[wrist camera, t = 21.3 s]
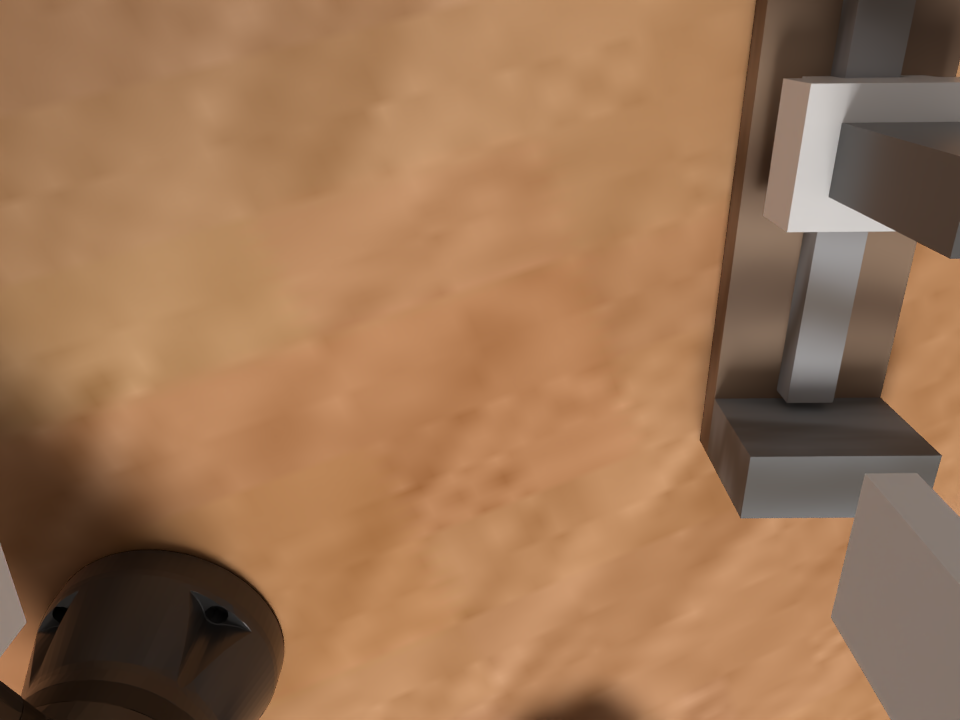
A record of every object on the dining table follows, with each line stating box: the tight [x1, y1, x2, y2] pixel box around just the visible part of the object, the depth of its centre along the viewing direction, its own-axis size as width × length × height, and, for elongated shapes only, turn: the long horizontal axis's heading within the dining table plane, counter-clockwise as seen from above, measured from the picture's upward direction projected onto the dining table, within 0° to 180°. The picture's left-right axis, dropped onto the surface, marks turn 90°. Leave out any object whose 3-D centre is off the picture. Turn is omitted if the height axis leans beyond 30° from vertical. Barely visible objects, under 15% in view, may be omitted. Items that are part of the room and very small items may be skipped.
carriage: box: [763, 75, 960, 259], centre depth 29 cm, size 6×8×13 cm
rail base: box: [700, 0, 960, 518], centre depth 34 cm, size 30×10×8 cm, turn 0°
